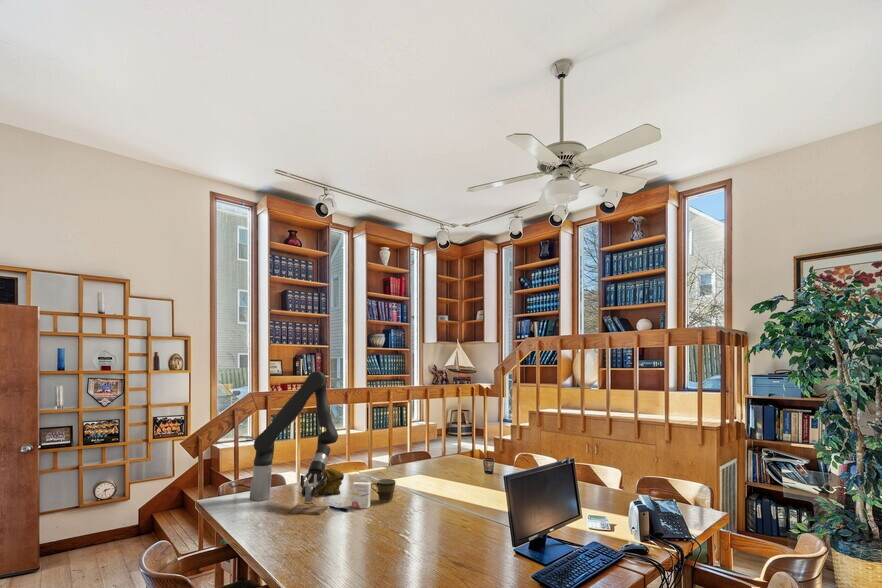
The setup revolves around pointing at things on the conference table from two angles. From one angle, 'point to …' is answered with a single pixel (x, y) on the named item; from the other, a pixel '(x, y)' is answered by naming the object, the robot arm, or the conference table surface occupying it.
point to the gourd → (331, 481)
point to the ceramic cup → (385, 489)
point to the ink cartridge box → (361, 492)
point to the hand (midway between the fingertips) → (307, 495)
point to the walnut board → (308, 509)
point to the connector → (308, 494)
